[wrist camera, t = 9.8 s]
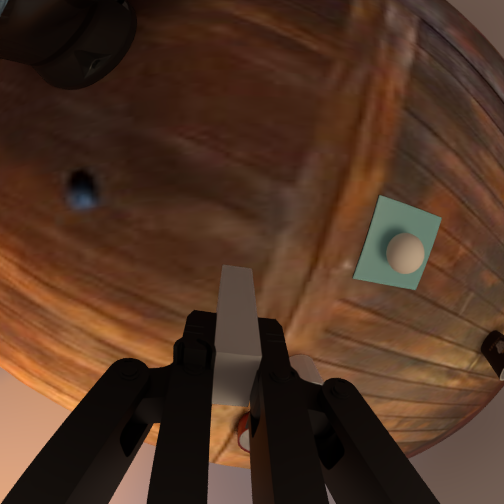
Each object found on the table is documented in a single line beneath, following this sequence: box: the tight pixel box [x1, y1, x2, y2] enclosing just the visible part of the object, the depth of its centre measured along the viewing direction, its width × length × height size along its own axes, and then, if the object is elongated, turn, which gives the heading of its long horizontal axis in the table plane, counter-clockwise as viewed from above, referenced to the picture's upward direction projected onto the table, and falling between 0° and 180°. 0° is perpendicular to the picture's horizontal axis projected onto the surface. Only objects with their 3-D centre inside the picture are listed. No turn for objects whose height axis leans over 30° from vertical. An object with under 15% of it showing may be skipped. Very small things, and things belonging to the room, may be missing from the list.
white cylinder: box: [289, 354, 324, 385], centre depth 40 cm, size 7×7×7 cm
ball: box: [386, 233, 424, 274], centre depth 34 cm, size 6×6×6 cm
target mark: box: [353, 195, 442, 290], centre depth 37 cm, size 12×12×1 cm
